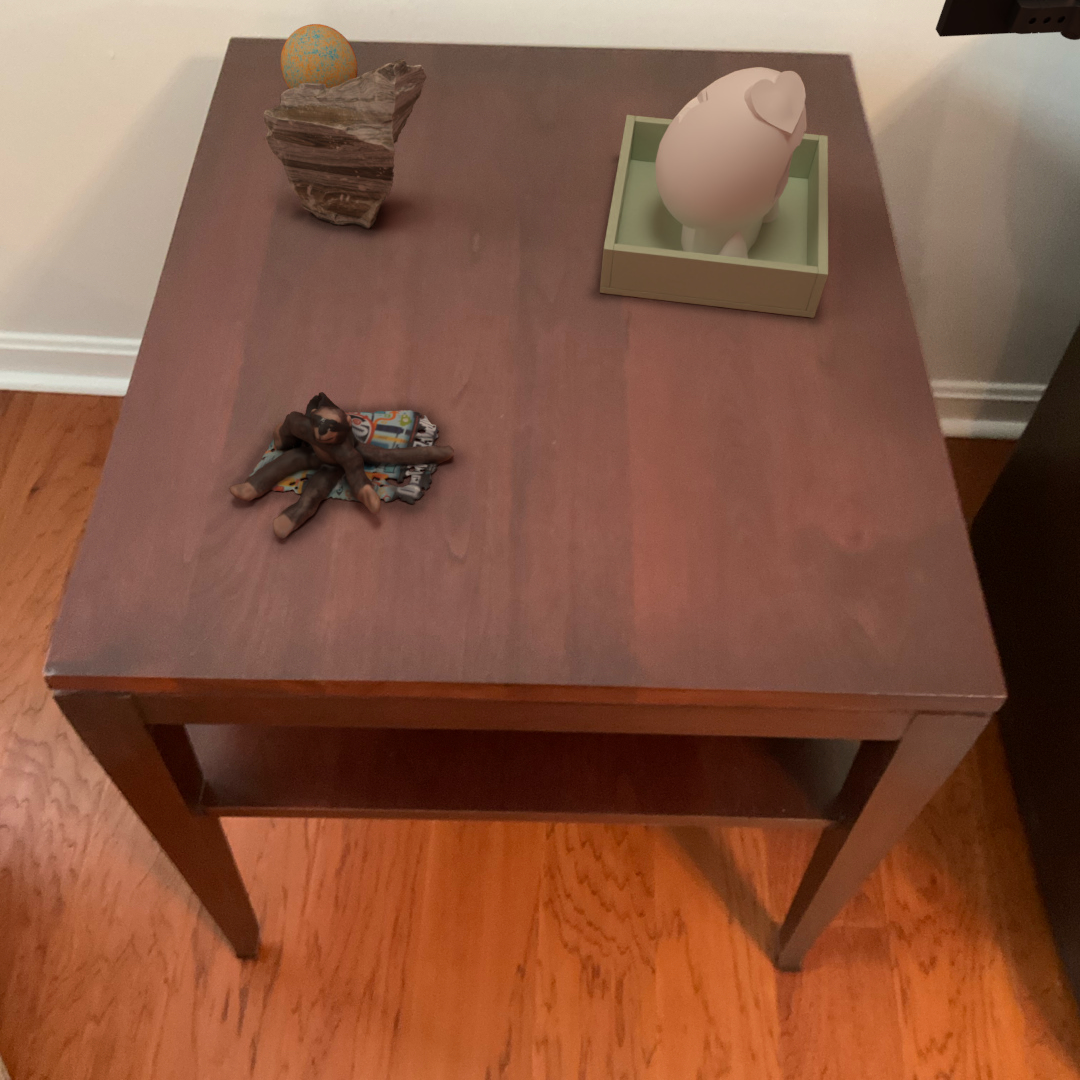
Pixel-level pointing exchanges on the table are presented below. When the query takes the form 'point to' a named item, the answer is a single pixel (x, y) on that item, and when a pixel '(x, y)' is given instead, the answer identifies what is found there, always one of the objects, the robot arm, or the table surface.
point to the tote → (675, 275)
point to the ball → (317, 57)
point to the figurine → (731, 158)
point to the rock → (344, 140)
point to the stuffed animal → (344, 459)
